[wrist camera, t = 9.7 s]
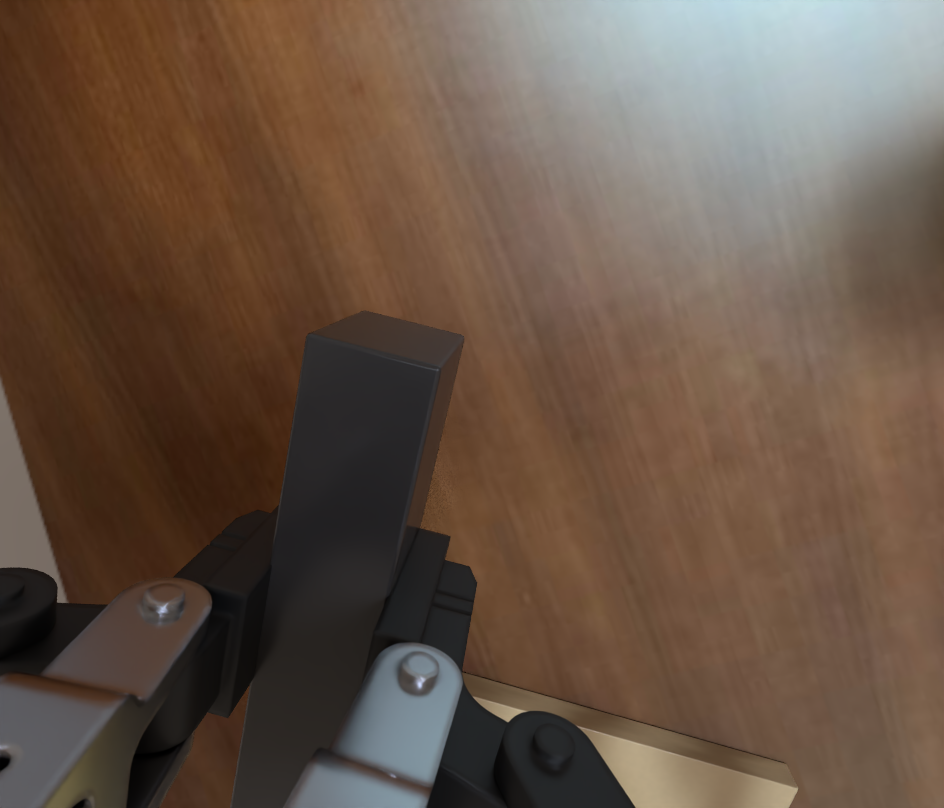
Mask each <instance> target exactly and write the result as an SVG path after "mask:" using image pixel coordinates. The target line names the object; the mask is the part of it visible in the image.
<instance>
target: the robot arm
mask: <svg viewBox="0 0 944 808" xmlns="http://www.w3.org/2000/svg"><path fill="white" fill-rule="evenodd" d="M278 509H279V505H278V506H277V507H276V508H275V509H274V510H273V512H272V513H268V512H264V511H260V510H256V511H254V512H251V513H249V514H246V515H244V516H241V517H238V518H236V519H235V520H234V521H233V522H232V523H231V524H230V525H228V526H227V527H226V528H225V529H224V530H223V531H222V534H219V535H218V536H217V537H216V538H215V539H213V540H212V541H211V543H210V545H207V546H206V547H205V548H204V549H203V550H202V551H201V552H200V553H198V554H197V555H196V556H195V557H194V558H193V559H192V560H191V561H190V562H189V563H188V564H187V565H186V566H185V567H183V568H182V569H181V570H180V571H179V572H178V573H177V574H176V575H175V576H174V577H173V578H172V577H164V578H154V579H149V580H144V581H141V582H138V583H136V584H134V585H131V586H129V587H128V588H126V589H124V590H123V591H122V592H121V593H120V594H118V595H117V596H116V597H115V598H114V599H113V601H112V602H111V603H110V604H109V605H95V604H72V603H57V584H56V582H55V581H54V579H53V578H52V577H50V576H49V575H47V574H46V573H44V572H40V571H38V570H34V569H28V568H0V808H159V807H160V805H161V803H162V801H163V800H164V798H165V796H166V794H167V792H168V791H169V789H170V787H171V785H172V783H173V782H174V780H175V778H176V776H177V774H178V773H179V771H180V769H181V767H182V765H183V764H184V762H185V760H186V758H187V756H188V755H189V753H190V751H191V748H192V745H193V740H194V733H195V729H196V728H197V726H198V725H199V724H200V722H201V721H202V719H203V718H204V716H205V715H206V713H207V712H208V713H212V714H216V715H219V716H223V717H226V718H228V717H229V716H230V714H231V713H232V711H233V710H234V708H235V706H236V705H237V703H238V702H239V700H240V699H241V697H242V696H243V694H244V692H245V691H246V689H247V688H248V686H249V685H250V683H251V682H252V680H253V678H254V673H255V667H256V661H257V655H258V649H259V642H260V636H261V630H262V624H263V618H264V612H265V606H266V600H267V594H268V588H269V582H270V576H271V569H272V565H271V564H270V558H271V552H272V546H273V540H274V534H275V527H276V521H277V515H278ZM450 537H451V536H448V535H444V534H440V533H436V532H433V531H429V530H425V529H421V528H418V530H417V532H416V534H415V537H414V539H413V542H412V544H411V547H410V549H409V551H408V554H407V556H406V559H405V561H404V564H403V566H402V569H401V571H400V573H399V576H398V578H397V581H396V583H395V586H394V588H393V591H392V593H391V595H390V596H388V598H387V600H386V602H385V605H384V607H383V610H382V612H381V614H380V617H379V619H378V622H377V624H376V626H375V629H374V631H373V635H372V640H371V644H370V649H369V653H368V658H367V662H366V666H365V671H364V675H363V680H362V684H361V687H360V689H359V691H358V693H357V695H356V697H355V699H354V701H353V703H352V704H351V706H350V708H349V710H348V712H347V714H346V716H345V718H344V720H343V721H342V723H341V725H340V727H339V729H338V731H337V733H336V735H335V737H334V738H333V740H332V742H331V744H330V746H329V748H328V749H325V748H322V747H319V748H318V749H317V750H316V751H315V752H314V754H313V755H312V757H311V758H310V760H309V762H308V763H307V765H306V767H305V769H304V771H303V772H302V774H301V776H300V778H299V780H298V782H297V783H296V785H295V787H294V789H293V791H292V792H291V794H290V796H289V798H288V800H287V801H286V803H285V805H284V807H283V808H636V807H635V806H634V804H633V803H632V801H631V800H630V798H629V797H628V795H627V794H626V792H625V791H624V789H623V788H622V786H621V785H620V783H619V782H618V780H617V779H616V777H615V776H614V774H613V773H612V771H611V770H610V768H609V767H608V765H607V764H606V762H605V761H604V759H603V758H602V756H601V755H600V753H599V752H598V750H597V749H596V747H595V746H594V744H593V743H592V742H591V740H590V739H589V738H588V736H587V735H586V734H585V733H584V732H583V731H582V730H581V729H580V728H578V727H577V726H576V725H575V724H573V723H572V722H570V721H568V720H567V719H565V718H563V717H561V716H558V715H556V714H553V713H549V712H545V711H527V712H523V713H520V714H518V715H516V716H515V717H513V718H512V719H511V720H510V721H509V722H507V721H505V720H503V719H501V718H500V717H498V716H496V715H494V714H493V713H491V712H490V711H488V710H486V709H485V708H484V707H483V706H481V705H480V704H479V703H478V702H477V701H476V700H475V699H474V698H473V697H472V695H471V694H470V693H469V691H468V689H467V687H466V686H465V683H464V680H463V675H462V667H463V661H464V655H465V650H466V644H467V638H468V633H469V627H470V621H471V615H472V610H473V604H474V598H475V592H476V587H477V582H476V580H475V577H474V575H473V573H472V571H471V569H470V567H469V566H466V565H462V564H458V563H454V562H451V561H447V560H445V558H446V554H447V550H448V546H449V542H450Z"/></svg>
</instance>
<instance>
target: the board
mask: <svg viewBox="0 0 944 808" xmlns="http://www.w3.org/2000/svg"><path fill="white" fill-rule="evenodd" d="M462 675H463V680H464V683H465V686H466V687H467V689H468V691H469V693H470V694H471V695H472V697H473V698H474V699H475V700H476V701H477V702H478V703H479V704H480V705H481V706H483V707H484V708H485V709H486V710H488V711H490V712H491V713H493V714H494V715H496V716H498V717H500V718H501V719H503V720H505V721H507V722H509V721H510V720H511V719H512V718H513V717H515V716H516V715H518V714H520V713H523V712H527V711H545V712H549V713H553V714H556V715H558V716H561V717H563V718H565V719H567V720H568V721H570V722H572V723H573V724H575V725H576V726H577V727H578V728H580V729H581V730H582V731H583V732H584V733H585V734H586V735H587V736H588V738H589V739H590V740H591V742H592V743H593V744H594V746H595V747H596V749H597V750H598V752H599V753H600V755H601V756H602V758H603V759H604V761H605V762H606V764H607V765H608V767H609V768H610V770H611V771H612V773H613V774H614V776H615V777H616V779H617V780H618V782H619V783H620V785H621V786H622V788H623V789H624V791H625V792H626V794H627V795H628V797H629V798H630V800H631V801H632V803H633V804H634V806H635V807H636V808H789V806H790V804H791V802H792V801H793V799H794V797H795V795H796V793H797V791H798V787H797V785H796V783H795V781H794V779H793V777H792V775H791V773H790V771H789V768H788V766H787V765H786V764H785V763H781V762H778V761H774V760H770V759H767V758H763V757H760V756H756V755H753V754H749V753H746V752H742V751H739V750H735V749H732V748H728V747H725V746H721V745H718V744H714V743H710V742H707V741H703V740H700V739H696V738H693V737H689V736H686V735H682V734H679V733H675V732H672V731H668V730H665V729H661V728H657V727H654V726H650V725H647V724H643V723H640V722H636V721H633V720H629V719H626V718H622V717H619V716H615V715H612V714H608V713H605V712H601V711H597V710H594V709H590V708H587V707H583V706H580V705H576V704H573V703H569V702H566V701H562V700H559V699H555V698H552V697H548V696H544V695H541V694H537V693H534V692H530V691H527V690H523V689H520V688H516V687H513V686H509V685H506V684H502V683H499V682H495V681H491V680H488V679H484V678H481V677H477V676H474V675H470V674H467V673H463V672H462Z"/></svg>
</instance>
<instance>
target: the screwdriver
mask: <svg viewBox="0 0 944 808" xmlns="http://www.w3.org/2000/svg"><path fill="white" fill-rule="evenodd" d="M463 343H464V336H462V335H461V334H457V333H453V332H449V331H445V330H441V329H437V328H433V327H429V326H425V325H421V324H417V323H413V322H409V321H405V320H401V319H397V318H393V317H389V316H385V315H381V314H377V313H373V312H369V311H361V312H359V313H356V314H354V315H352V316H349V317H347V318H345V319H342V320H340V321H337V322H335V323H333V324H330V325H328V326H325V327H323V328H321V329H318V330H316V331H313V332H311V333H309V334H308V335H307V336H306V341H305V348H304V354H303V360H302V366H301V372H300V379H299V385H298V391H297V397H296V403H295V410H294V416H293V422H292V428H291V434H290V441H289V447H288V453H287V459H286V465H285V472H284V478H283V484H282V490H281V496H280V503H279V509H278V515H277V521H276V527H275V534H274V540H273V546H272V552H271V558H270V564H271V565H272V569H271V576H270V582H269V588H268V594H267V600H266V606H265V612H264V618H263V624H262V630H261V636H260V642H259V649H258V655H257V661H256V667H255V673H254V678H253V680H252V682H251V683H250V688H249V695H248V701H247V707H246V713H245V719H244V726H243V732H242V738H241V744H240V750H239V757H238V763H237V769H236V775H235V781H234V787H233V794H232V800H231V806H230V808H283V807H284V805H285V803H286V801H287V800H288V798H289V796H290V794H291V792H292V791H293V789H294V787H295V785H296V783H297V782H298V780H299V778H300V776H301V774H302V772H303V771H304V769H305V767H306V765H307V763H308V762H309V760H310V758H311V757H312V755H313V754H314V752H315V751H316V750H317V749H318V748H319V747H322V748H325V749H328V748H329V746H330V744H331V742H332V740H333V738H334V737H335V735H336V733H337V731H338V729H339V727H340V725H341V723H342V721H343V720H344V718H345V716H346V714H347V712H348V710H349V708H350V706H351V704H352V703H353V701H354V699H355V697H356V695H357V693H358V691H359V689H360V687H361V684H362V680H363V675H364V671H365V666H366V662H367V658H368V653H369V649H370V644H371V640H372V635H373V631H374V629H375V626H376V624H377V622H378V619H379V617H380V614H381V612H382V610H383V607H384V605H385V602H386V600H387V598H388V596H390V595H391V593H392V591H393V588H394V586H395V583H396V581H397V578H398V576H399V573H400V571H401V569H402V566H403V564H404V561H405V559H406V556H407V554H408V551H409V549H410V547H411V544H412V542H413V539H414V537H415V534H416V532H417V530H418V528H420V526H421V522H422V518H423V514H424V509H425V505H426V501H427V496H428V492H429V488H430V484H431V479H432V475H433V471H434V467H435V462H436V458H437V454H438V450H439V445H440V441H441V437H442V433H443V428H444V424H445V420H446V416H447V411H448V407H449V403H450V399H451V394H452V390H453V386H454V381H455V377H456V373H457V369H458V364H459V360H460V356H461V352H462V347H463Z"/></svg>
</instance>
